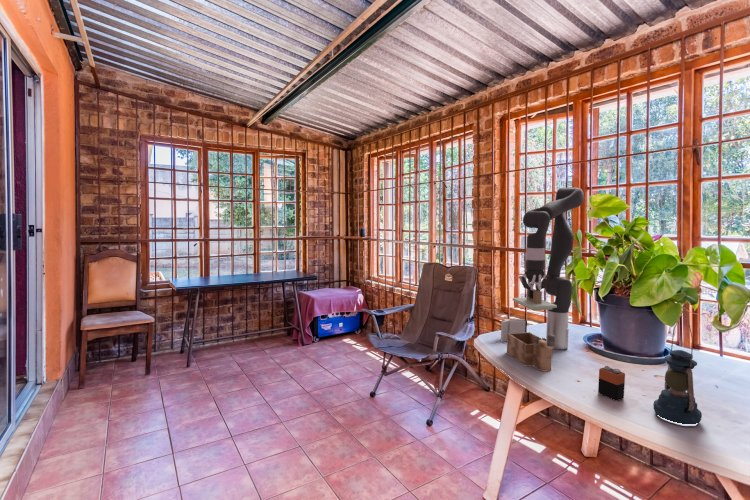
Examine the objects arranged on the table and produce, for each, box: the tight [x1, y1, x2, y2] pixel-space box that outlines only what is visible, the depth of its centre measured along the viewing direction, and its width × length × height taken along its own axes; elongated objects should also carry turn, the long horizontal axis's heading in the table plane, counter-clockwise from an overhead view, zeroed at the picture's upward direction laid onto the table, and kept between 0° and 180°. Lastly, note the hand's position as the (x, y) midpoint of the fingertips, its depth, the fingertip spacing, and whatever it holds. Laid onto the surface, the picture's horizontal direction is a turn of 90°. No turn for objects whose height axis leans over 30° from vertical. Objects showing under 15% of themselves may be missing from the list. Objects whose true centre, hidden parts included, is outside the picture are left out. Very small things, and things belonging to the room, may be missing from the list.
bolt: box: [538, 334, 555, 350], centre depth 158 cm, size 8×3×5 cm, turn 9°
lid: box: [512, 288, 557, 311], centre depth 169 cm, size 16×11×7 cm
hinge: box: [500, 318, 528, 343], centre depth 198 cm, size 14×5×10 cm, turn 98°
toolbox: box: [506, 331, 553, 372], centre depth 169 cm, size 22×11×12 cm, turn 9°
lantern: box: [653, 307, 703, 424], centre depth 120 cm, size 14×12×35 cm
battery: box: [597, 365, 626, 401], centre depth 136 cm, size 4×7×10 cm, turn 26°
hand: (533, 298), depth 169 cm, fingers closed on lid
